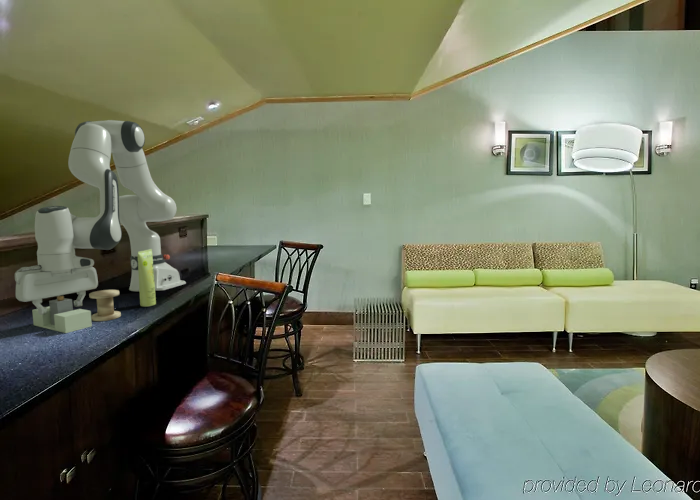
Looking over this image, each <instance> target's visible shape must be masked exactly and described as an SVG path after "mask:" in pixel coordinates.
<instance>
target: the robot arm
mask: <svg viewBox="0 0 700 500" xmlns="http://www.w3.org/2000/svg"><path fill="white" fill-rule="evenodd" d="M145 142H146V137H145V132H144V130H143V128H142V127H141V126H140V125H139V124H138V123H137V122H135V121H131V120H114V119H108V120H107V119H106V120H97V121H90V120H89V121H88V120H87V121H83V122H81V123H78V125H77V126H76V128H75V130H74V139H73V141H72V144H71V146H70V151H69V155H68V163H67V164H68V169H69V171H70V172H71V175H73V176H74V177H75V178H76V179H78V180H80V182H83V183H85V184H87V185H89V186H92V187H94V188H96V189H97V188H98V190H99V214H98V215H97V216H95V217H94V216H90V217H89V216H88V217H86V216H77V215H74V214H72V213H71V212H70V209H69V207H67V206H64V205H52V206H45V207H40V208H39V209H38V210H37V211H36V212H35V218H34V235H35V237H34V238H35V241H36V243H37V251H36V256H37V257H36V258H37V265H31V266H22V267H19V269H17V270H16V271H15V273H14V280H15V299H17V300H18V301H19V302H24V303H25V302H26V303H27V302H31V303H32V304H33V305H34V306H35V307H36V309H38V313H39V314H40V315H43V314H47V313H48V311H47V307H48V306H43V305H42V303H43V299H49V298H53V297H57V296H64V295H69V294H75V293H76V294H77V295H78V296H77V298H76V300H73V307H75V308H79V307H83V300H84V298H85V296H86V295H87V294H86V293H87V292H86V291H90V290H95V289H97V287H98V286H99V281H98V274H97V269H96V268H95V267H93V266H94V265H95V260H94V259H92V258H88V257H82V256H79V255H76V249H83V250H84V249H95V250H105V251H109V250H112V249H113V248H115V247H116V246H117V245H118V244H119V243H120V242H121V240H122V235H123V234H122V233H123V232H122V226H123V227H124V229H125V231H126V232H127V234H128V237H129V242H130V243H129V244H130V251H131V255H130V258H129V259H130V266H131V267H130V268H131V278H130V284H129V285H130V286H129V288H128V290H129V291H131V292H140V291H139V273H138V252H139V251H144V250H149V249H152V256H153V268H154V282H155V291H166V290H169V289H173V288H176V287H179V286H182V285H183V286H184V285H186V284H187V282H186V281H185V280H181V277H180V271H178V269H177V268H174V267H173V266H171V265H170V264H169V263H167V262H166V260H170V258H171V256H170V255H169V254H164V255H163V254H162V248H161V247H162V246H161V237H160V235H159V233H157V232H156V231H154V230H152V229H150V228H149V227H148V225H147V222H148V223H151V222H154V223H156V222H164V221H165V222H166V221H170V220H173V219H174V217H175V216H176V214H177V209H178V208H177V204H176V201H175V200H174V199H173V198H172V197H171V196H169V195H167V194H166V193H164V192H163V191H162V190H161V189H160V188H159V187H158V186H157V185H156V183H155V182H154V180H153V178H152V175H151V173H150V168H149V166H148V162H147V158H146V155H145V152H144V149H143V147H144V146H145ZM111 156H112V157H111ZM111 158H112V159H113V163H114V167H115V169H116V172H117V175H116V173H115V171H113V170H111V165H110V163H111ZM118 179H119V181H118ZM119 182H120V185H122V186H123V188H125V189H127V190H129V191H131V192H133V193H134V194H125V195H120V193H119V192H120V190H119Z"/></svg>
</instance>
